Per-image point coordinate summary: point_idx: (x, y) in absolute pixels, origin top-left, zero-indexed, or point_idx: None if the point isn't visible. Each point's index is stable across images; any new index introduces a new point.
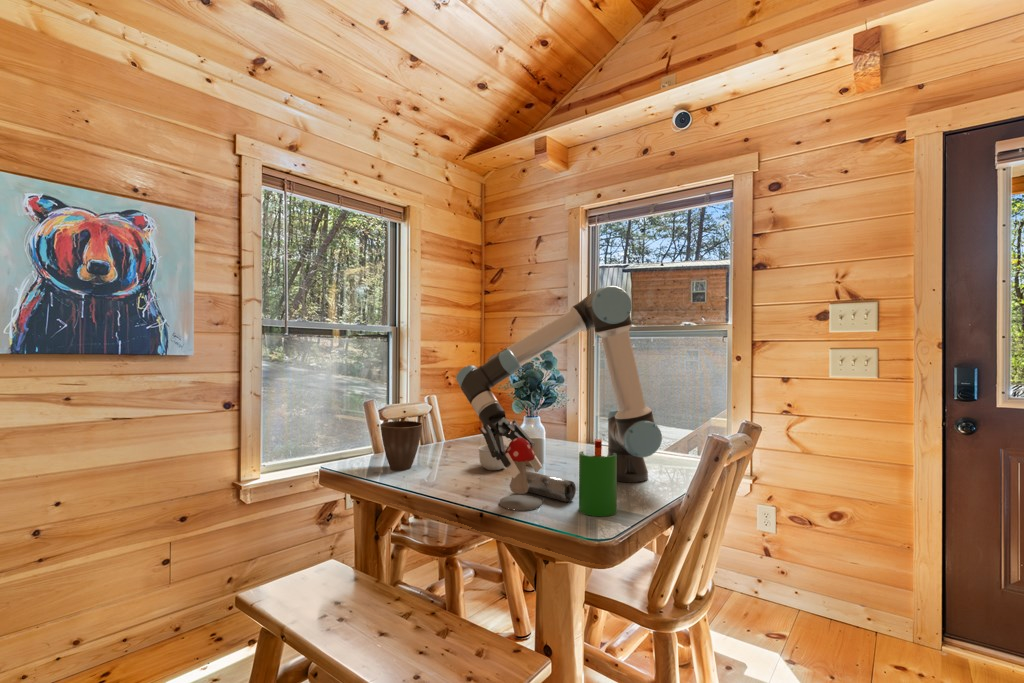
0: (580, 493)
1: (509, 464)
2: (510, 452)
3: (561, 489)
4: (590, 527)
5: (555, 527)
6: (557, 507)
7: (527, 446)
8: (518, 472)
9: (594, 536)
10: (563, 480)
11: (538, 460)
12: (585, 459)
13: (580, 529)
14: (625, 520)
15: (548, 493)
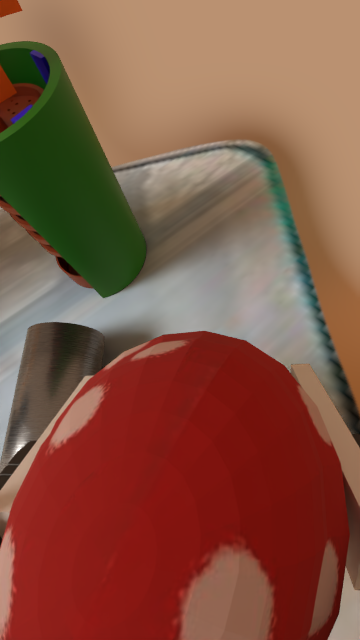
0: (119, 243)
1: (355, 438)
2: (342, 497)
3: (91, 338)
4: (211, 198)
5: (277, 238)
6: (148, 338)
7: (181, 344)
8: (308, 364)
9: (247, 165)
10: (46, 347)
11: (68, 403)
12: (68, 103)
13: (238, 202)
14: (121, 188)
15: None
